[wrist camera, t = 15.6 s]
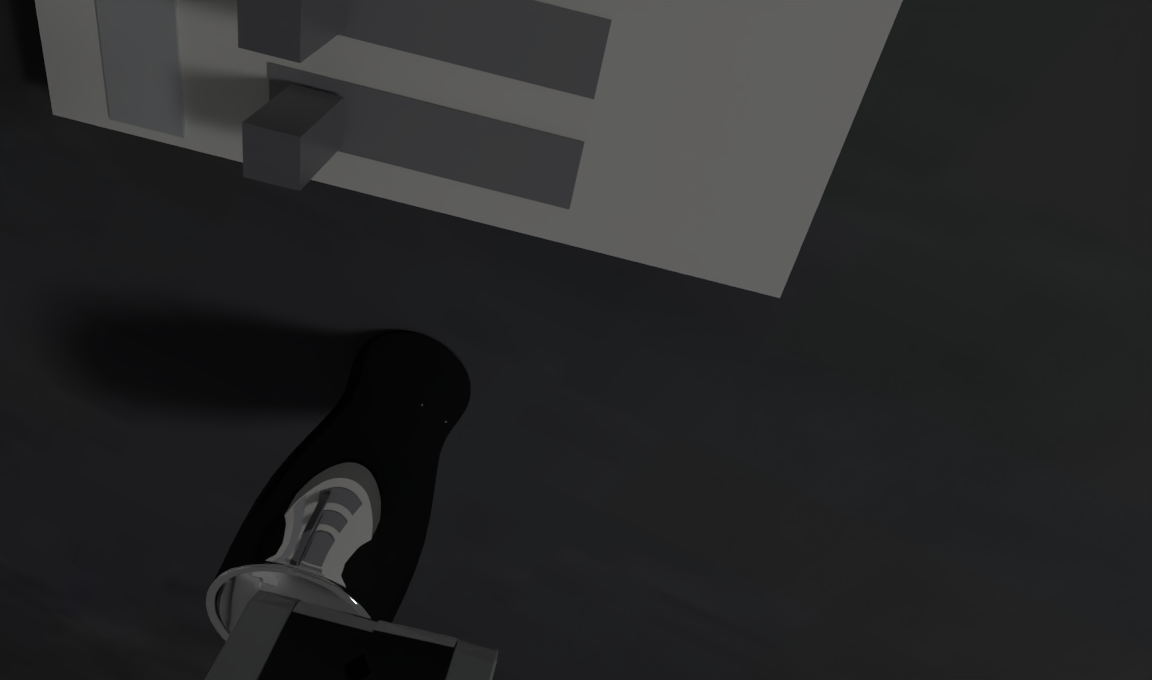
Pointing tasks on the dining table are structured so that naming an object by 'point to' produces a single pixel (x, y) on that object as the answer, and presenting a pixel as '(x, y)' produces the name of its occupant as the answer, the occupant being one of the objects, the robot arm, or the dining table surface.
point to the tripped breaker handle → (289, 26)
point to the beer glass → (352, 490)
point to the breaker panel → (511, 111)
